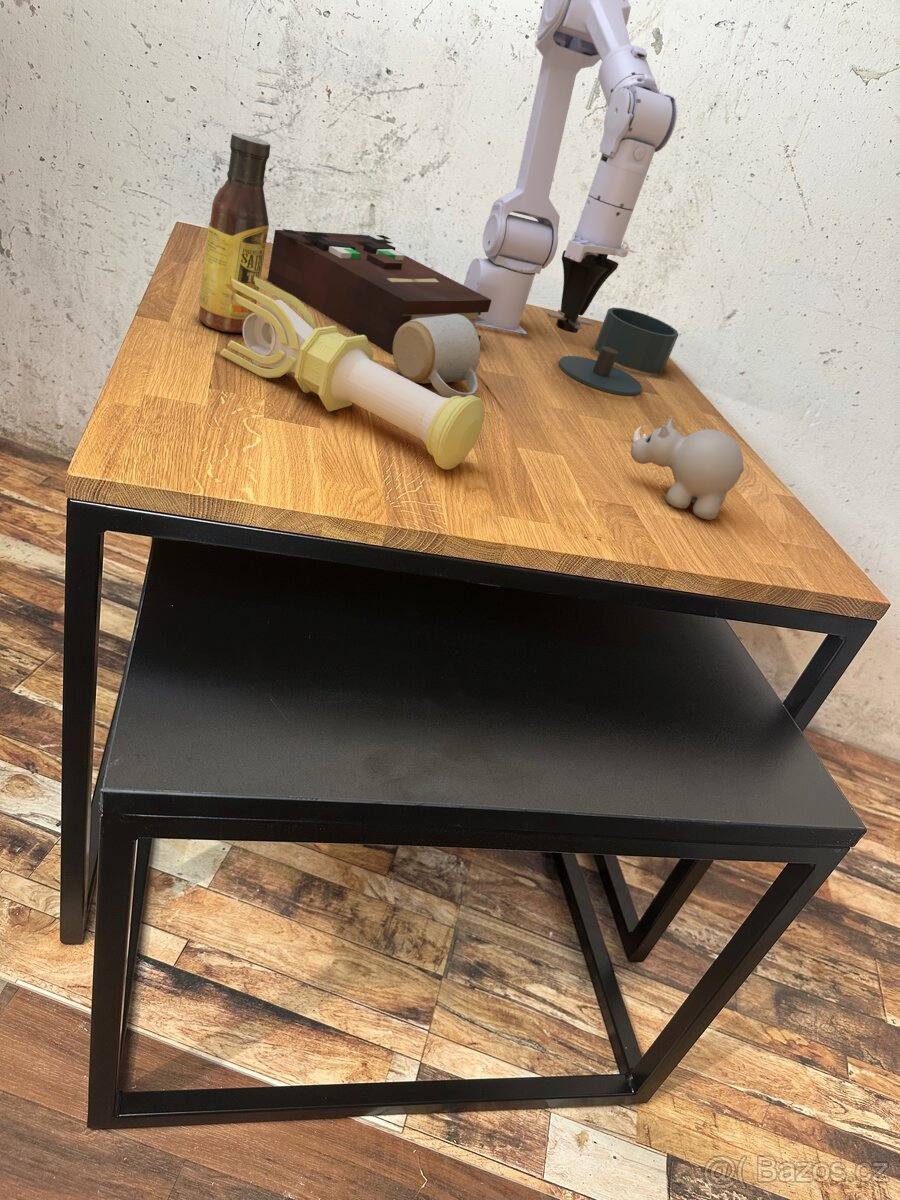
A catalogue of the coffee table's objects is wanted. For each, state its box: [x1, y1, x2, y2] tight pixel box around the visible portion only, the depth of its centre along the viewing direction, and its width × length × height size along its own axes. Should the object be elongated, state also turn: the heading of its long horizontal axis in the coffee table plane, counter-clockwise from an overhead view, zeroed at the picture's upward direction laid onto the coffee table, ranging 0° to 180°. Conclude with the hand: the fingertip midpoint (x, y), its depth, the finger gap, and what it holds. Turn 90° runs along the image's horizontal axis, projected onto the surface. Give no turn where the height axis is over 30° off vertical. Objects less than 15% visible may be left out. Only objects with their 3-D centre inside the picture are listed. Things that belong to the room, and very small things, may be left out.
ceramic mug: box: [392, 314, 481, 398], centre depth 101 cm, size 11×8×8 cm
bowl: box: [594, 307, 679, 374], centre depth 134 cm, size 11×11×6 cm
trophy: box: [219, 276, 486, 470], centre depth 87 cm, size 8×8×30 cm
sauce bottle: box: [198, 132, 271, 334], centre depth 95 cm, size 7×6×20 cm
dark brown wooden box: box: [266, 228, 492, 356], centre depth 118 cm, size 19×8×30 cm
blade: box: [547, 309, 593, 334], centre depth 110 cm, size 6×6×6 cm
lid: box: [558, 347, 643, 397], centre depth 122 cm, size 12×12×5 cm
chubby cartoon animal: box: [630, 418, 745, 521], centre depth 92 cm, size 7×12×8 cm, turn 62°
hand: (571, 313), depth 111 cm, fingers closed on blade
